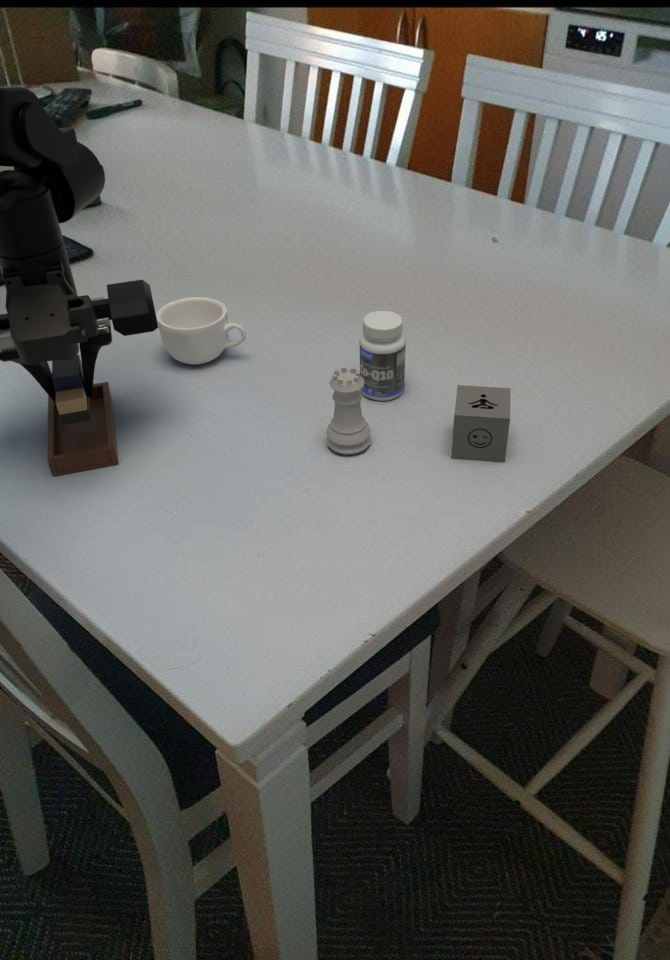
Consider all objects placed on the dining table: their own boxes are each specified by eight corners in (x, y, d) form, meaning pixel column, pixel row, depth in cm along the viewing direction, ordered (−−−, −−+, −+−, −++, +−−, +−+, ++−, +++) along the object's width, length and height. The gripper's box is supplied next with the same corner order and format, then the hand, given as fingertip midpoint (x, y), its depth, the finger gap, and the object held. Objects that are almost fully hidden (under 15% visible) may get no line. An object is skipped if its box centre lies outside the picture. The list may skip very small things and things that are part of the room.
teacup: (153, 368, 91) (144, 326, 88) (179, 335, 97) (172, 294, 94) (237, 377, 89) (231, 334, 86) (258, 343, 95) (254, 301, 92)
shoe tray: (52, 476, 77) (47, 460, 76) (52, 407, 86) (48, 391, 85) (118, 464, 78) (114, 447, 77) (111, 397, 87) (107, 381, 86)
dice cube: (451, 457, 77) (454, 414, 74) (454, 427, 81) (457, 384, 78) (504, 462, 76) (510, 418, 73) (505, 430, 80) (510, 388, 77)
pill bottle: (353, 397, 86) (351, 326, 80) (369, 374, 89) (368, 305, 84) (396, 405, 84) (397, 334, 79) (410, 382, 87) (412, 312, 82)
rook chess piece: (380, 442, 79) (380, 372, 74) (349, 463, 77) (347, 392, 72) (348, 424, 82) (345, 355, 77) (316, 444, 79) (312, 374, 74)
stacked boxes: (61, 392, 82) (50, 358, 79) (89, 387, 82) (80, 353, 80) (61, 425, 77) (50, 390, 75) (91, 420, 78) (81, 385, 75)
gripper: (-100, 303, 61) (-34, 464, 71) (147, 268, 65) (177, 426, 75) (-82, 246, 70) (-25, 397, 80) (136, 217, 73) (165, 366, 83)
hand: (73, 397), depth 79 cm, fingers closed on stacked boxes, 3 cm apart
